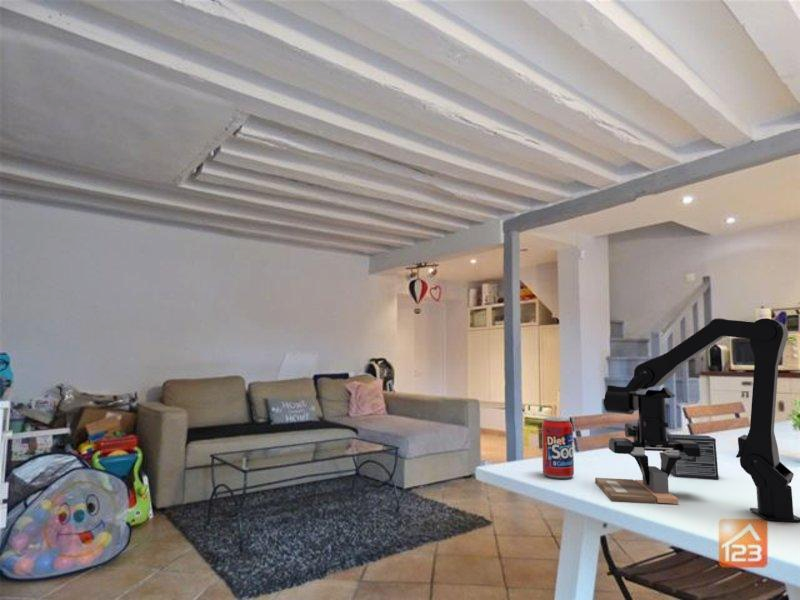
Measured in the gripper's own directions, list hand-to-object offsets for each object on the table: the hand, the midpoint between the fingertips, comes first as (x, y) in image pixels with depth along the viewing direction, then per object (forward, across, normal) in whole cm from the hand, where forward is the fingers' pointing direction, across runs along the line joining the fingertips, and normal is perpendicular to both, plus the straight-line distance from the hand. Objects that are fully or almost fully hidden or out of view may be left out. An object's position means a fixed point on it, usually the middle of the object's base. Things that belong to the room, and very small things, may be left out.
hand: (655, 484), depth 115 cm
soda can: (+2, +20, -13) cm, 24 cm away
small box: (+2, -16, -21) cm, 27 cm away
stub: (+2, 0, 0) cm, 2 cm away
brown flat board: (+2, +7, 0) cm, 7 cm away
